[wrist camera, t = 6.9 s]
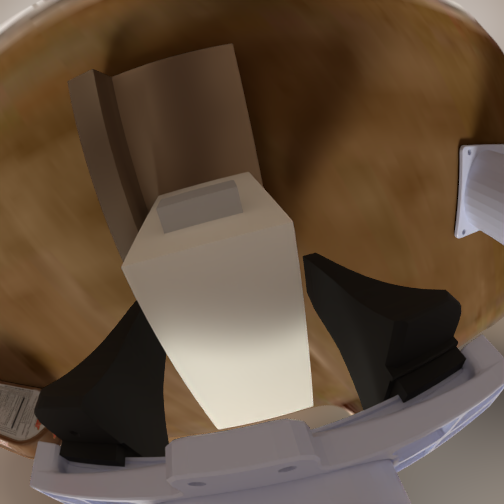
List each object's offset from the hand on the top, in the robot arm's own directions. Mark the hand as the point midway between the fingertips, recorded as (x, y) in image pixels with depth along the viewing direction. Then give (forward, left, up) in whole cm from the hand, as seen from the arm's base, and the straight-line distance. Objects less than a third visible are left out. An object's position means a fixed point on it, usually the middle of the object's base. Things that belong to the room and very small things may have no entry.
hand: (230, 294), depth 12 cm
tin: (+27, +10, -5) cm, 29 cm away
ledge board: (+1, 0, -4) cm, 4 cm away
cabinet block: (0, 0, -3) cm, 3 cm away
